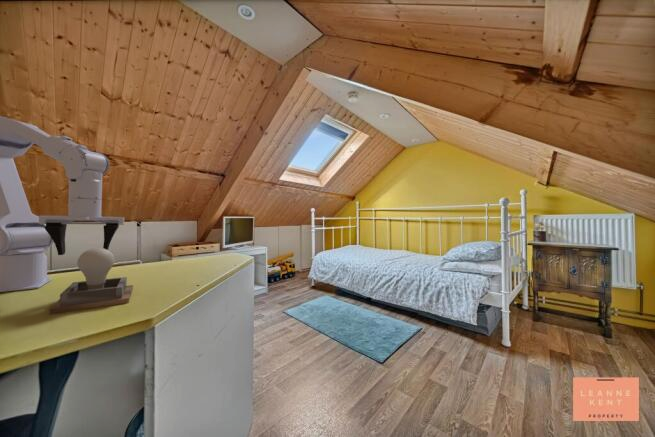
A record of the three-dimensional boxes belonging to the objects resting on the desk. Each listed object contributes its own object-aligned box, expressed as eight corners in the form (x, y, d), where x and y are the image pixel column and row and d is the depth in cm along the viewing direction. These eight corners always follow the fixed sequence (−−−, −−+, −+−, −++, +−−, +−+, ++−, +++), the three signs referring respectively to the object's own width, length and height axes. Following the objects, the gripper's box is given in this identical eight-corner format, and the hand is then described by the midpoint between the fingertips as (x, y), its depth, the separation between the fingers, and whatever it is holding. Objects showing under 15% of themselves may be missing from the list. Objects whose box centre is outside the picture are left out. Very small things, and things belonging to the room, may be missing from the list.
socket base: (66, 296, 55) (66, 282, 55) (132, 288, 62) (133, 275, 62) (49, 314, 46) (49, 296, 46) (128, 302, 53) (129, 287, 53)
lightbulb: (92, 301, 50) (93, 250, 50) (68, 298, 51) (69, 249, 51) (120, 292, 56) (121, 247, 56) (99, 290, 57) (100, 245, 57)
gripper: (33, 196, 50) (32, 258, 50) (122, 200, 59) (121, 254, 59) (45, 196, 56) (44, 253, 56) (125, 201, 64) (124, 249, 65)
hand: (84, 253), depth 58 cm, fingers open, 7 cm apart
